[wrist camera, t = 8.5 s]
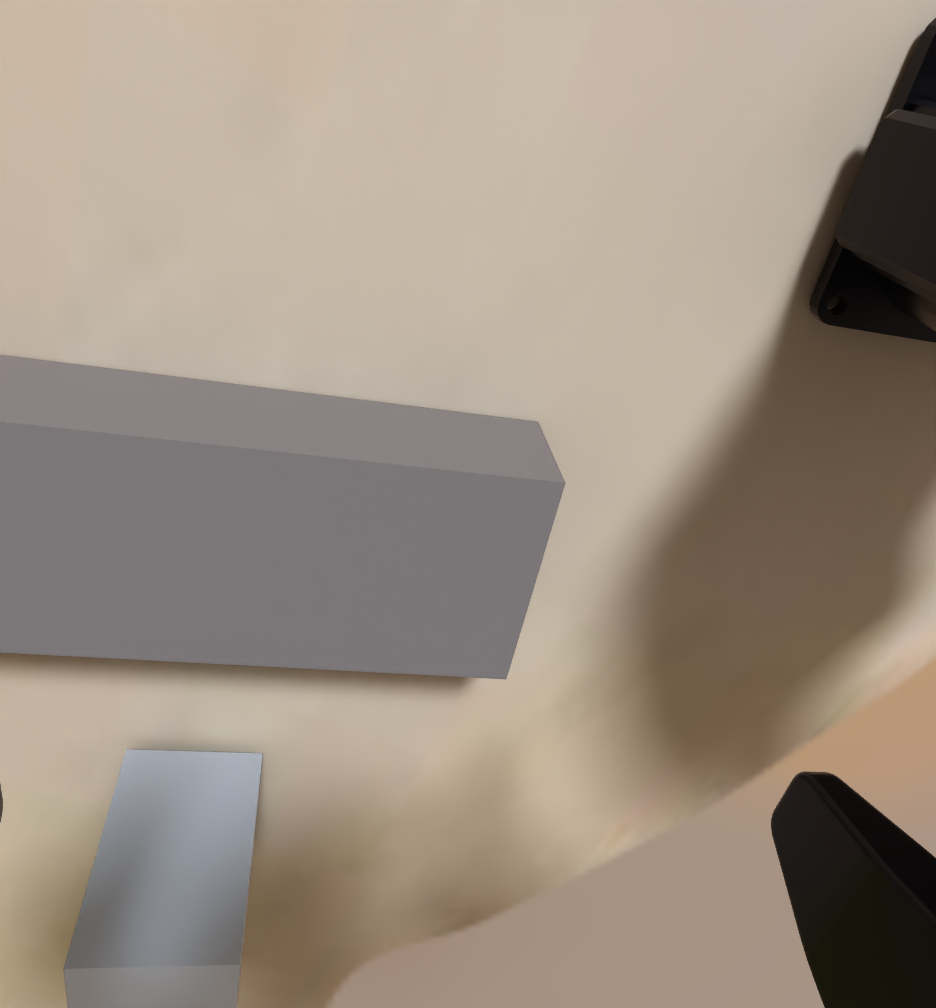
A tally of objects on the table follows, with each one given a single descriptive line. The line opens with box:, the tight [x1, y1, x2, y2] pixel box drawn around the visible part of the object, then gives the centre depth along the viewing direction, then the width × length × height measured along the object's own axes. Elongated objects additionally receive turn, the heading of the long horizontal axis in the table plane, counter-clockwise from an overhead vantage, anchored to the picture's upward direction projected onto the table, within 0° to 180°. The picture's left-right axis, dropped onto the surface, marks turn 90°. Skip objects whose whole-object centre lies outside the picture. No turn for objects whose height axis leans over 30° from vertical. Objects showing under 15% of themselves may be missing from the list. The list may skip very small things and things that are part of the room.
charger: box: [64, 749, 263, 1008], centre depth 23 cm, size 4×5×6 cm
